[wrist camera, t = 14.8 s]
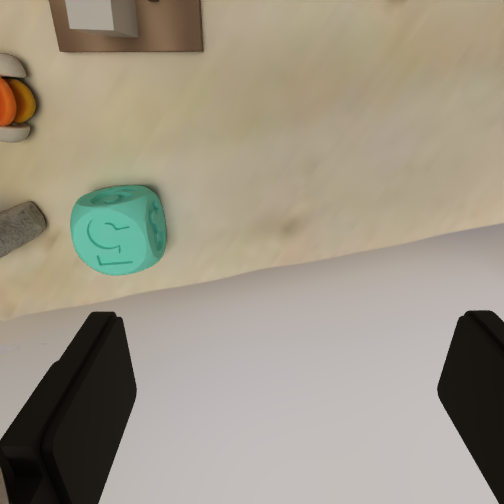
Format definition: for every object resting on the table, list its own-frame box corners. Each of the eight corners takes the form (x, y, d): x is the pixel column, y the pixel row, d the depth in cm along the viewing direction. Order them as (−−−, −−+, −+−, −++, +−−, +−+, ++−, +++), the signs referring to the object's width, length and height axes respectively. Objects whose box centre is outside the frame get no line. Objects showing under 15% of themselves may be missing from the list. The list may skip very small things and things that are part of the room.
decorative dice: (109, 247, 47) (83, 278, 40) (92, 187, 43) (60, 210, 36) (170, 242, 47) (155, 273, 39) (157, 182, 43) (139, 204, 36)
